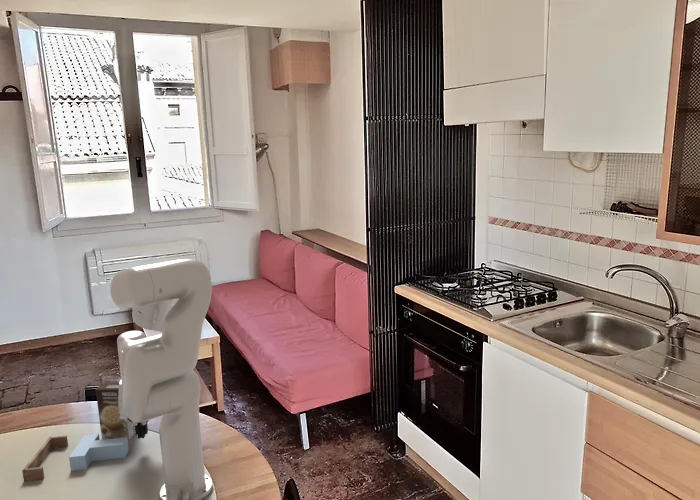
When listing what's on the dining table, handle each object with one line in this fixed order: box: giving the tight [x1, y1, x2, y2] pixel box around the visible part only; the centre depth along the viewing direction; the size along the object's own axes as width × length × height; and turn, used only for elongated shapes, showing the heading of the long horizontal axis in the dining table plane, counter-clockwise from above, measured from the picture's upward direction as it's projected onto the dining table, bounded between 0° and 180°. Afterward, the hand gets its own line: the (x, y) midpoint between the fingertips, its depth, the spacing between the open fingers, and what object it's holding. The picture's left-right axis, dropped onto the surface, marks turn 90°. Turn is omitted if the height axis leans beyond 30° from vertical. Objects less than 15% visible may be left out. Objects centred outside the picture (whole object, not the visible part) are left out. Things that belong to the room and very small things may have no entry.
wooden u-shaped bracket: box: [21, 435, 69, 482], centre depth 154 cm, size 18×5×3 cm, turn 7°
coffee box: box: [95, 380, 136, 441], centre depth 167 cm, size 9×6×16 cm
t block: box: [68, 433, 130, 472], centre depth 156 cm, size 12×13×4 cm
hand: (142, 435), depth 157 cm, fingers closed
